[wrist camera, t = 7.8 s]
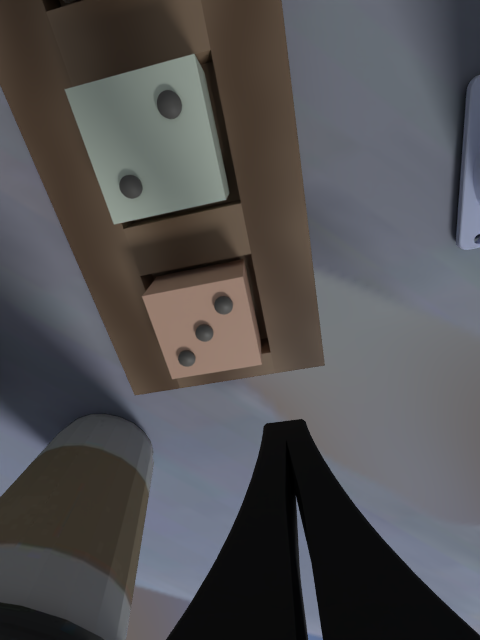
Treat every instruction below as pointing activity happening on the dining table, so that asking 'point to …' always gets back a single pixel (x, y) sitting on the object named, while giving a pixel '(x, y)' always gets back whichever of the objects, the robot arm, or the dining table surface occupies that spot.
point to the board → (187, 224)
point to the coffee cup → (75, 533)
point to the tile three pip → (205, 319)
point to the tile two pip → (152, 139)
